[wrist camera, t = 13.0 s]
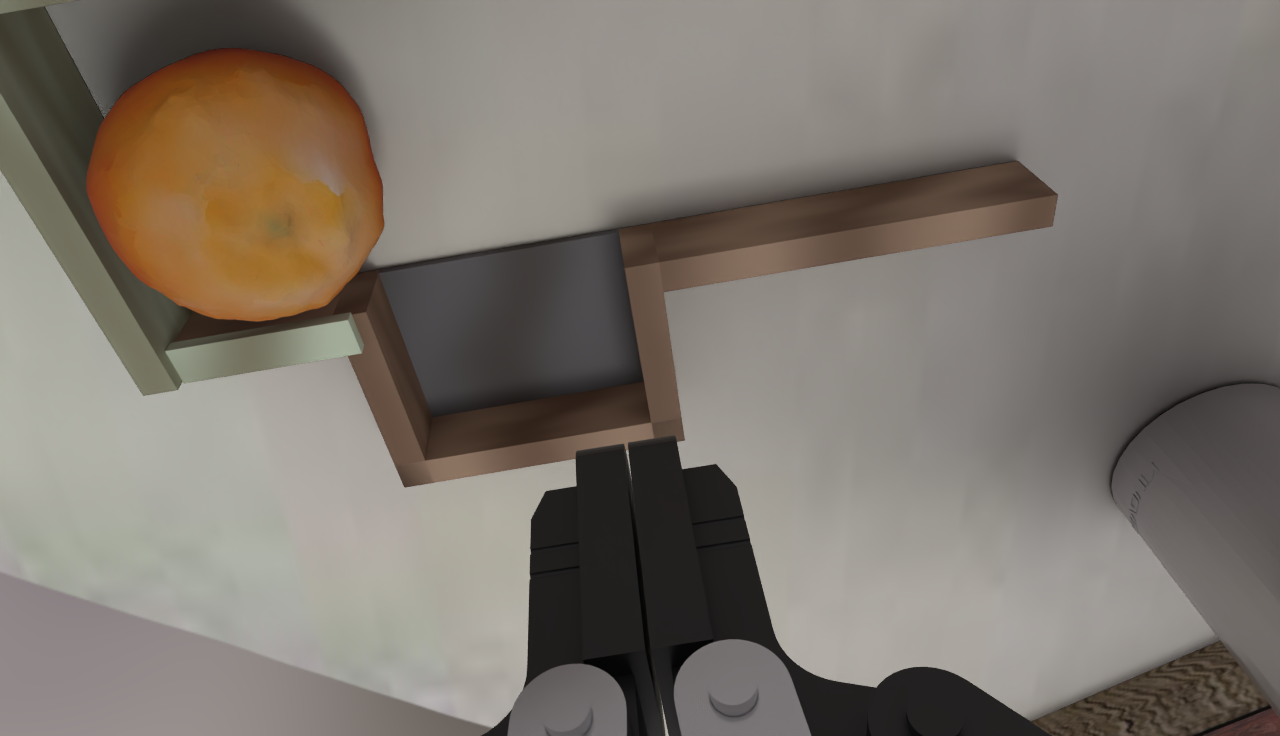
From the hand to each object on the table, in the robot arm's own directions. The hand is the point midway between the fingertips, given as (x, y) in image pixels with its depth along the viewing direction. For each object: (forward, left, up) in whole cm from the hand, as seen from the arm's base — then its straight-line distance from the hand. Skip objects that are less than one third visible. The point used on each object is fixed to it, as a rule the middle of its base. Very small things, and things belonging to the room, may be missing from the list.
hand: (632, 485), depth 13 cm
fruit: (+11, 0, -19) cm, 22 cm away
